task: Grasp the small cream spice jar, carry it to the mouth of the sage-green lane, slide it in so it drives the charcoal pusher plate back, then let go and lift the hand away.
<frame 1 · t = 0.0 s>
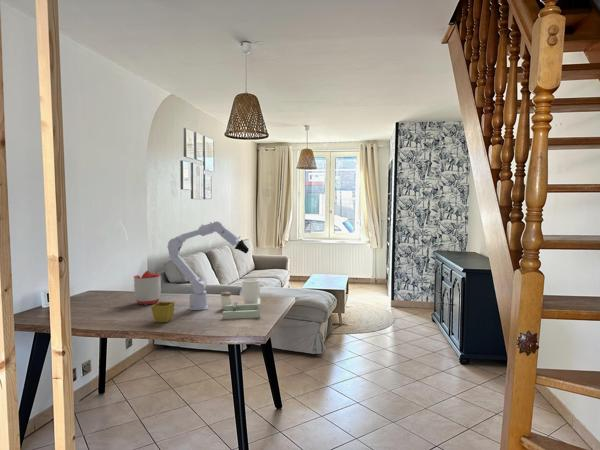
hand: (247, 251, 230), 32 cm above the table, tool tilted 50°, fingers open, 7 cm apart
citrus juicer: (147, 303, 246), on the table
flower pot: (163, 321, 204), on the table
spice jar: (226, 308, 228), on the table
jar: (251, 305, 236), on the table
lane: (241, 314, 215), on the table
pusher plate: (235, 309, 214), point 3 cm above the table, slide at 0.0 cm
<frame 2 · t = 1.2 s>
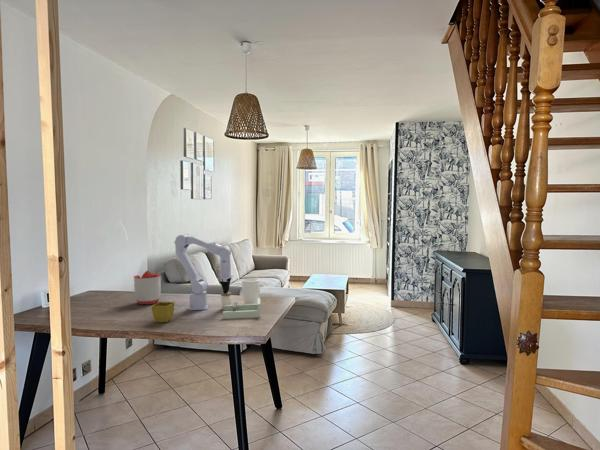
hand: (226, 292, 227), 10 cm above the table, tool pointing down, fingers open, 7 cm apart
nothing on the table moved.
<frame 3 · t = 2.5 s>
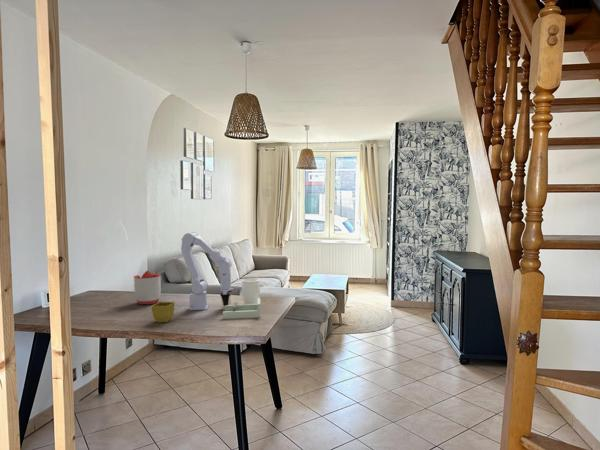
hand: (226, 304, 228), 2 cm above the table, tool pointing down, fingers closed on spice jar, 5 cm apart
spice jar: (226, 308, 228), on the table, touching gripper
everything else where it was.
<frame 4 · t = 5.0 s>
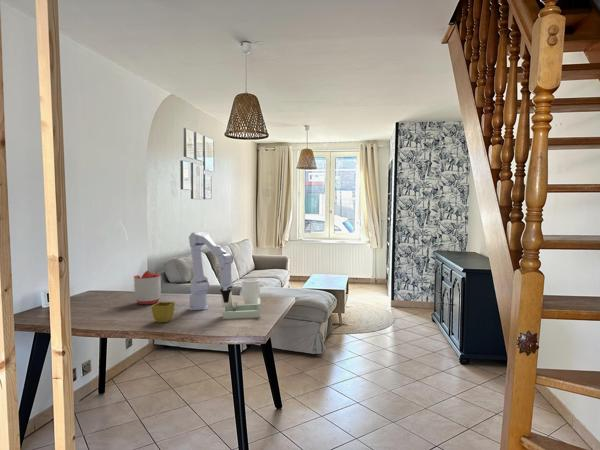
hand: (226, 301, 214), 8 cm above the table, tool pointing down, fingers closed on spice jar, 5 cm apart
spice jar: (227, 305, 214), point 5 cm above the table, touching gripper
everything else where it was.
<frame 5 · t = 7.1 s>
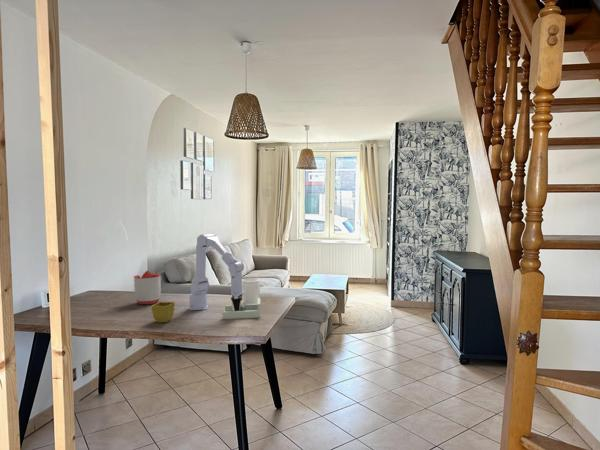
hand: (237, 309, 214), 3 cm above the table, tool pointing down, fingers closed on spice jar, 5 cm apart
spice jar: (237, 313, 214), on the table, touching gripper
pusher plate: (243, 309, 215), point 3 cm above the table, slide at 4.6 cm
everything else where it was.
when the fingers open (3 cm above the table, at t = 7.6 s): spice jar stays where it is, on the table.
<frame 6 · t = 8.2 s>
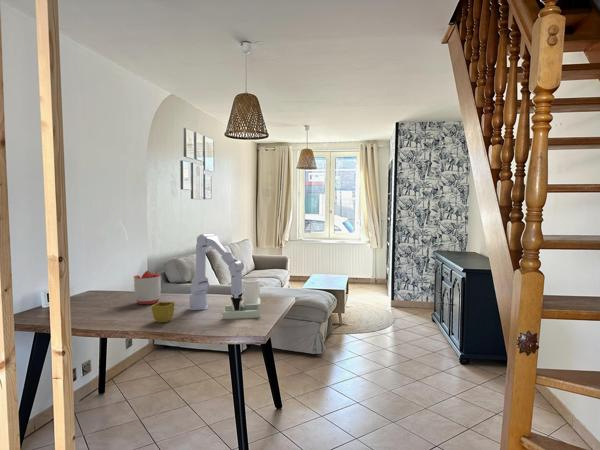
hand: (237, 308, 214), 3 cm above the table, tool pointing down, fingers open, 7 cm apart
spice jar: (237, 314, 214), on the table
everything else where it was.
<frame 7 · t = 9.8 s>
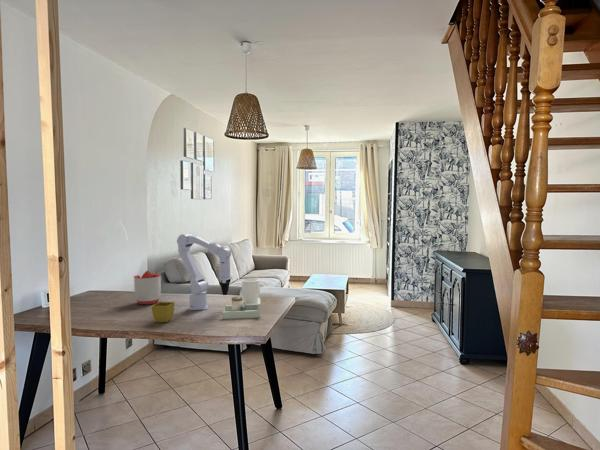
hand: (225, 293, 224), 9 cm above the table, tool pointing down, fingers open, 7 cm apart
nothing on the table moved.
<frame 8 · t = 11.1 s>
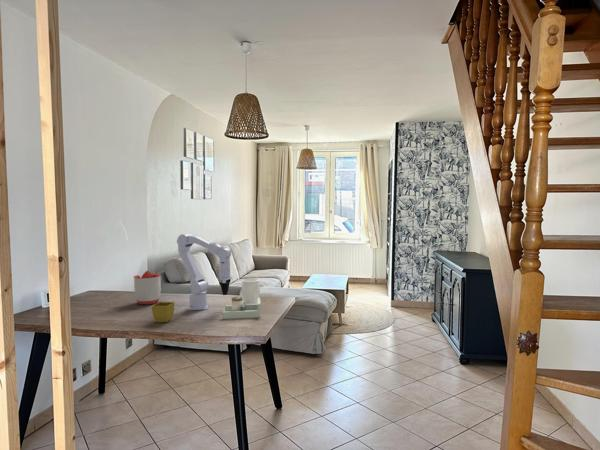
hand: (225, 293, 224), 9 cm above the table, tool pointing down, fingers open, 7 cm apart
nothing on the table moved.
at the end: spice jar 0.4 cm from the target spot on the lane, point 0.0 cm above the lane's base; pusher plate slide at 4.6 cm; spice jar tilted 1° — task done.
